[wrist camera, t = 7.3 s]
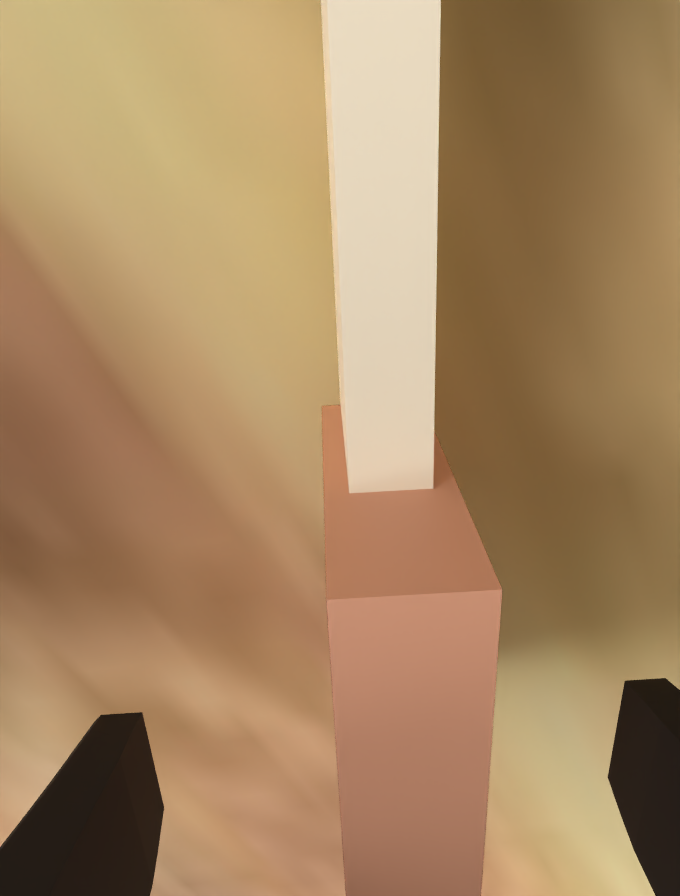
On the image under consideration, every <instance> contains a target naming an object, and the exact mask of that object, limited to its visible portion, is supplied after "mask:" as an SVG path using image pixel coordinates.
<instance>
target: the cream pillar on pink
mask: <svg viewBox="0 0 680 896" xmlns="http://www.w3.org/2000/svg"><path fill="white" fill-rule="evenodd" d="M321 15H322V36H323V57H324V77H325V98H326V119H327V140H328V161H329V181H330V202H331V223H332V244H333V265H334V286H335V306H336V327H337V348H338V369H339V390H340V405H327V406H322V437H323V480H324V523H325V565H326V603H327V618H328V633H329V648H330V663H331V678H332V693H333V709H334V724H335V739H336V754H337V769H338V784H339V799H340V815H341V830H342V845H343V860H344V875H345V890H346V896H481V889H482V874H483V860H484V846H485V831H486V817H487V803H488V788H489V774H490V760H491V745H492V731H493V717H494V702H495V688H496V674H497V659H498V645H499V630H500V616H501V602H502V588H501V585H500V583H499V581H498V578H497V576H496V574H495V571H494V569H493V567H492V564H491V562H490V560H489V557H488V555H487V553H486V550H485V548H484V546H483V543H482V541H481V539H480V536H479V534H478V532H477V529H476V527H475V525H474V522H473V520H472V518H471V515H470V513H469V511H468V508H467V506H466V504H465V501H464V499H463V497H462V494H461V492H460V490H459V487H458V485H457V483H456V480H455V478H454V476H453V473H452V471H451V469H450V466H449V464H448V462H447V459H446V457H445V455H444V452H443V450H442V448H441V445H440V443H439V441H438V438H437V436H436V434H435V431H434V408H435V343H436V279H437V214H438V149H439V84H440V19H441V0H321Z"/></svg>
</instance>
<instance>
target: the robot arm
mask: <svg viewBox="0 0 680 896" xmlns="http://www.w3.org/2000/svg"><path fill="white" fill-rule="evenodd" d="M608 779H609V782H610V785H611V788H612V791H613V794H614V796H615V799H616V802H617V805H618V808H619V811H620V814H621V817H622V819H623V822H624V825H625V827H626V830H627V833H628V835H629V838H630V841H631V843H632V846H633V849H634V851H635V853H636V855H637V858H638V860H639V862H640V864H641V866H642V868H643V870H644V872H645V874H646V876H647V879H648V881H649V883H650V885H651V887H652V889H653V891H654V893H655V895H656V896H680V690H679V689H678V688H676V687H675V686H674V685H673V684H672V683H670V682H669V681H668V680H667V679H666V678H661V679H646V680H630V681H625V683H624V689H623V694H622V700H621V706H620V711H619V717H618V723H617V728H616V734H615V740H614V745H613V751H612V756H611V762H610V768H609V773H608ZM163 811H164V805H163V801H162V797H161V792H160V788H159V784H158V779H157V775H156V771H155V766H154V762H153V757H152V753H151V749H150V744H149V740H148V736H147V731H146V727H145V723H144V718H143V714H142V712H140V713H125V714H110V715H101V716H100V717H99V718H98V719H97V720H96V721H95V722H94V723H93V724H92V726H91V727H90V729H89V730H88V731H87V733H86V734H85V735H84V737H83V738H82V740H81V741H80V742H79V744H78V745H77V746H76V748H75V749H74V751H73V752H72V753H71V755H70V756H69V757H68V759H67V760H66V762H65V763H64V764H63V766H62V767H61V768H60V770H59V771H58V772H57V774H56V775H55V776H54V778H53V779H52V781H51V782H50V783H49V785H48V786H47V787H46V789H45V790H44V791H43V793H42V794H41V795H40V797H39V798H38V799H37V801H36V802H35V803H34V805H33V806H32V807H31V808H30V810H29V811H28V812H27V814H26V815H25V816H24V817H23V819H22V820H21V821H20V823H19V824H18V825H17V826H16V828H15V829H14V830H13V831H12V833H11V834H10V835H9V837H8V838H7V839H6V840H5V842H4V843H3V844H2V846H1V847H0V896H150V893H151V889H152V884H153V878H154V872H155V866H156V859H157V853H158V846H159V839H160V832H161V825H162V818H163Z"/></svg>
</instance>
